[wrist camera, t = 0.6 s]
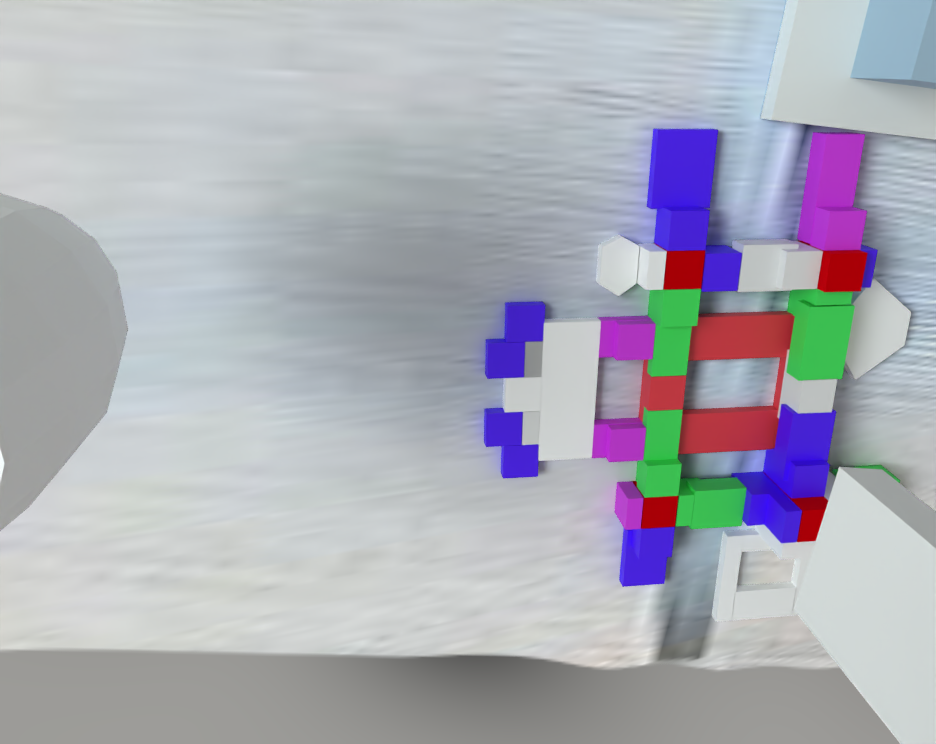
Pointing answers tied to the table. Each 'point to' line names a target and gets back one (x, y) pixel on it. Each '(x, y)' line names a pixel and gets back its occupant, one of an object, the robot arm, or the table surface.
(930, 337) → the table surface
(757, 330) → the building block set
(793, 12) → the build plate
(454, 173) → the table surface
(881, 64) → the blue brick
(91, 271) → the cup
